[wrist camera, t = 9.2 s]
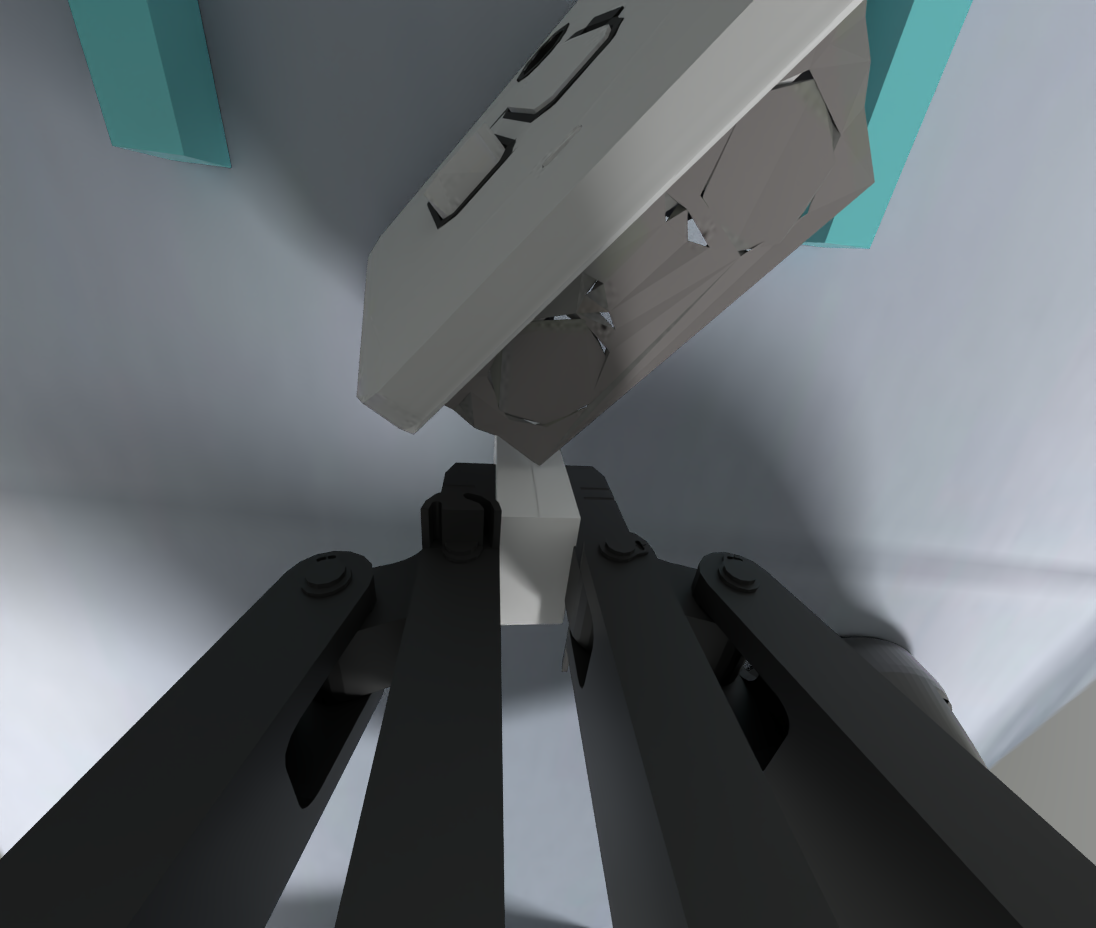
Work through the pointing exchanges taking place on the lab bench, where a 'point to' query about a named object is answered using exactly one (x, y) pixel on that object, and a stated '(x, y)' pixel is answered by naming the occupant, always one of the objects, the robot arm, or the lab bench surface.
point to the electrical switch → (613, 209)
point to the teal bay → (198, 137)
